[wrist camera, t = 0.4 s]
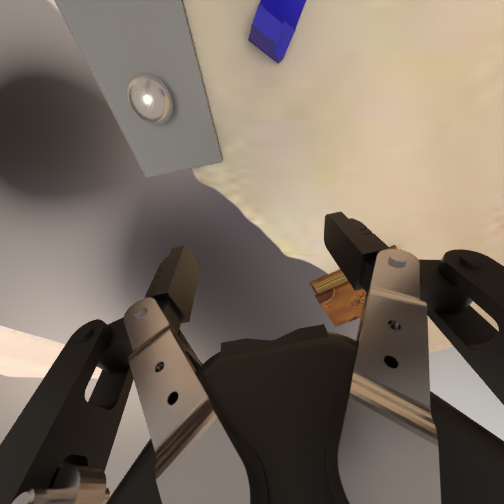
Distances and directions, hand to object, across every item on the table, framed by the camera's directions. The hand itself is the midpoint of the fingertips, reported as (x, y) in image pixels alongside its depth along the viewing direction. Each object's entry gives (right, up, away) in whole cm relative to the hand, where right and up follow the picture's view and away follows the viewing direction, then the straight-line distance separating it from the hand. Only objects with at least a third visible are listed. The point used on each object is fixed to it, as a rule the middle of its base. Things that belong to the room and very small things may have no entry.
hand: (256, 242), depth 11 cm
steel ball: (-13, +18, +12) cm, 26 cm away
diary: (+31, -10, +45) cm, 55 cm away
